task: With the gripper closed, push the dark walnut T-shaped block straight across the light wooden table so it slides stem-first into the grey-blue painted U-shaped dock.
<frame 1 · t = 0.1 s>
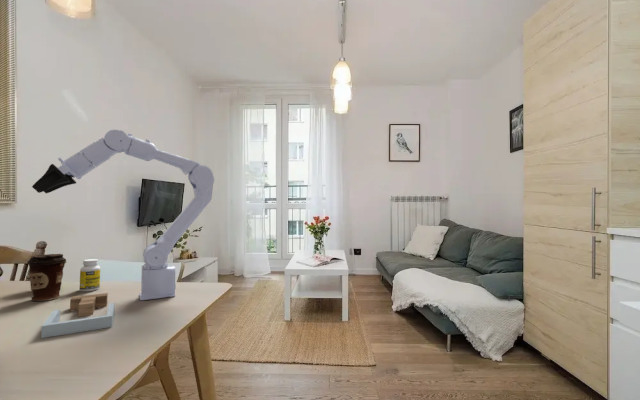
hand: (39, 190, 83), 32 cm above the table, tool tilted 50°, fingers open, 7 cm apart
dock: (81, 324, 73), on the table
plant pot: (47, 289, 103), on the table
t block: (87, 310, 83), on the table
supplement bottle: (89, 290, 103), on the table
coffee cup: (45, 299, 92), on the table
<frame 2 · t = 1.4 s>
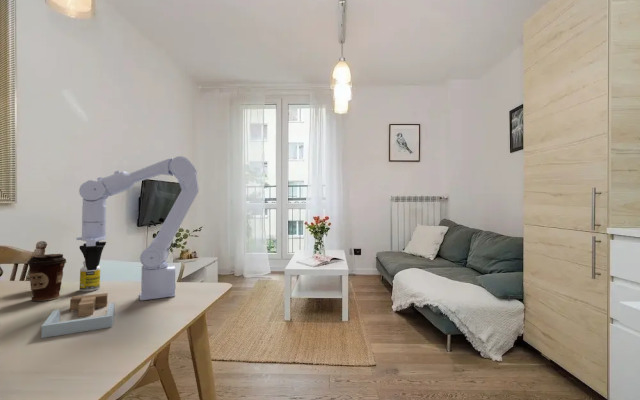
hand: (93, 268, 92), 9 cm above the table, tool pointing down, fingers open, 5 cm apart
nothing on the table moved.
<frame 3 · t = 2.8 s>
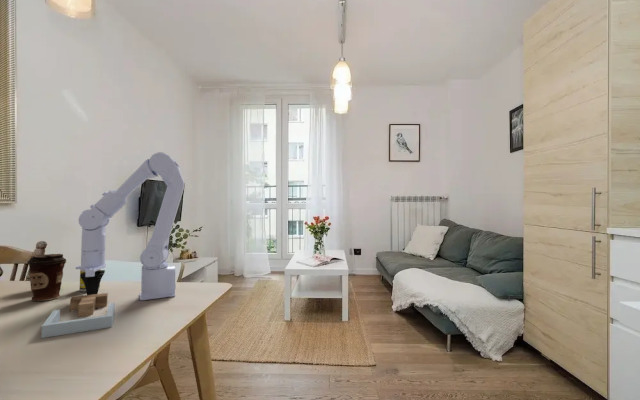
hand: (92, 296, 92), 1 cm above the table, tool pointing down, fingers closed
nothing on the table moved.
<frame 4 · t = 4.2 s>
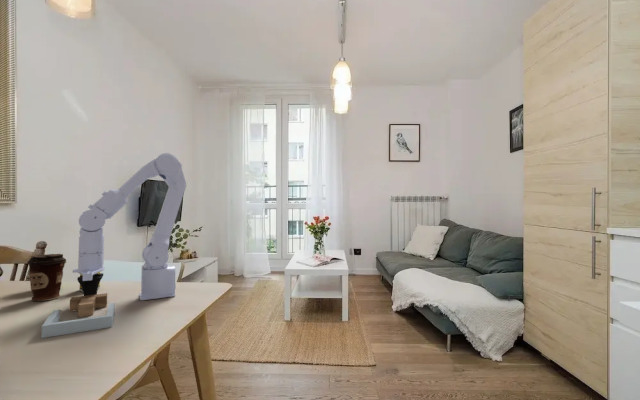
hand: (90, 301, 87), 1 cm above the table, tool pointing down, fingers closed
t block: (87, 310, 83), on the table, touching gripper
everything else where it was.
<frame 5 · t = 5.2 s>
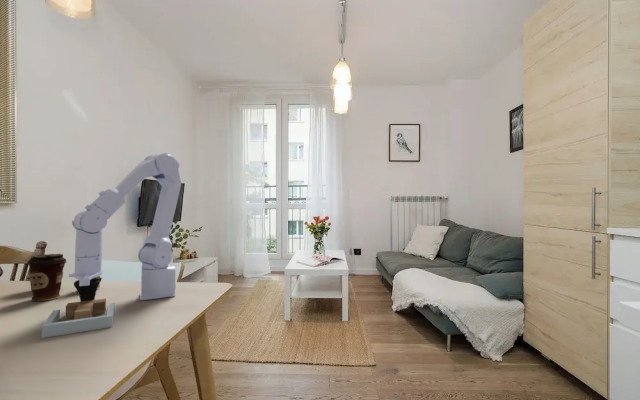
hand: (87, 307, 82), 1 cm above the table, tool pointing down, fingers closed
t block: (84, 317, 78), on the table, touching gripper
everything else where it was.
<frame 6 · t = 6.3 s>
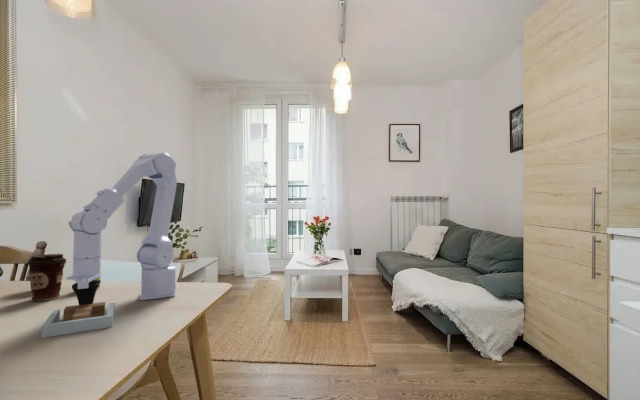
hand: (86, 310, 80), 1 cm above the table, tool pointing down, fingers closed
t block: (83, 321, 75), on the table, touching gripper
everything else where it was.
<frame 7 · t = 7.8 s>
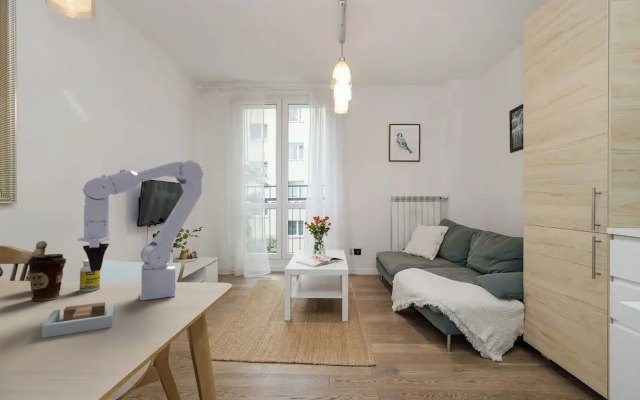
hand: (95, 270, 87), 10 cm above the table, tool pointing down, fingers closed
t block: (83, 322, 75), on the table
everything else where it was.
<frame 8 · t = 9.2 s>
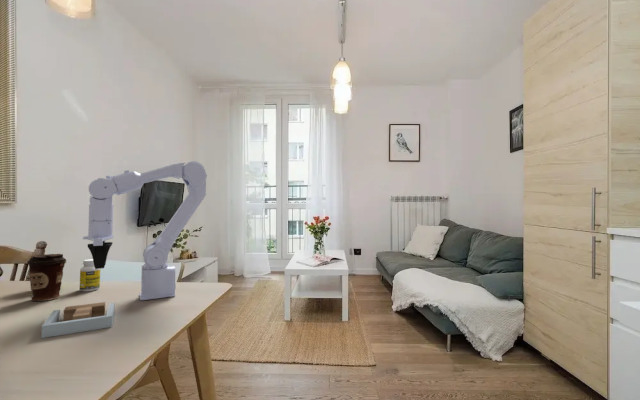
hand: (99, 268, 89), 10 cm above the table, tool pointing down, fingers closed
nothing on the table moved.
at the end: t block 0.8 cm from the target spot, on the table; t block tilted 0°; t block touching table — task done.
